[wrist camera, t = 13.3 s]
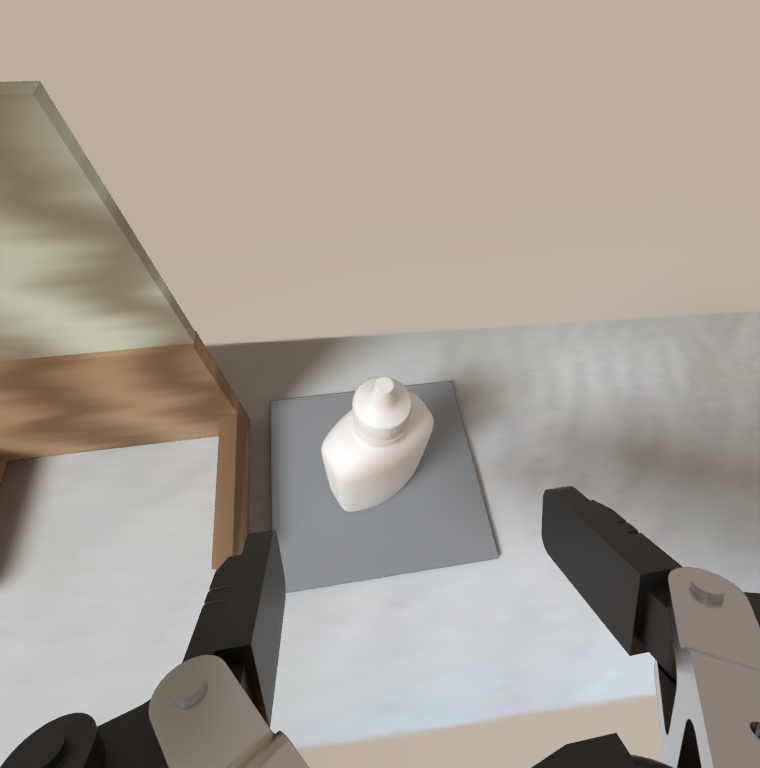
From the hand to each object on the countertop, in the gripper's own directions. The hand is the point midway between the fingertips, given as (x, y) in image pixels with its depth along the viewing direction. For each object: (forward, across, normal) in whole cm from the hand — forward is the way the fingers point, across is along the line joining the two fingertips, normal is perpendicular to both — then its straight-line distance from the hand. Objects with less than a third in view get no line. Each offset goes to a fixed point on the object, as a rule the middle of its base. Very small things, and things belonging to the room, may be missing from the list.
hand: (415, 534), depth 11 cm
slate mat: (+13, 0, +5) cm, 14 cm away
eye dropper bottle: (+13, 0, +5) cm, 14 cm away
